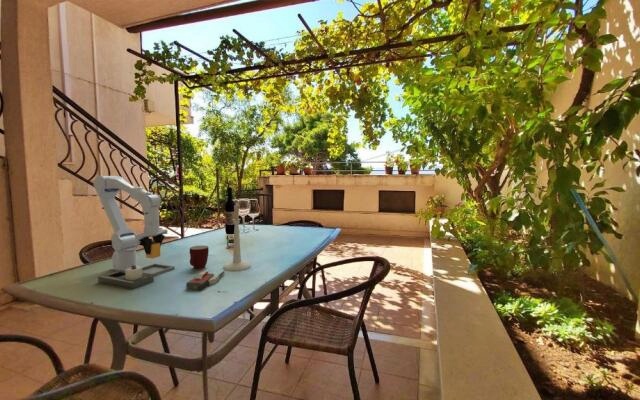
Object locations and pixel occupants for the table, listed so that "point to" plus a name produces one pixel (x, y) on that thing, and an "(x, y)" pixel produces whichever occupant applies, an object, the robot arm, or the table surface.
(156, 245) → the plug
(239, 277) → the table surface
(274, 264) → the table surface
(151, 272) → the tray
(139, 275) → the twin plug
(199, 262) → the mug
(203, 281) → the walkie-talkie
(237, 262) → the candlestick
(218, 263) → the table surface
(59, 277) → the table surface
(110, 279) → the open box
